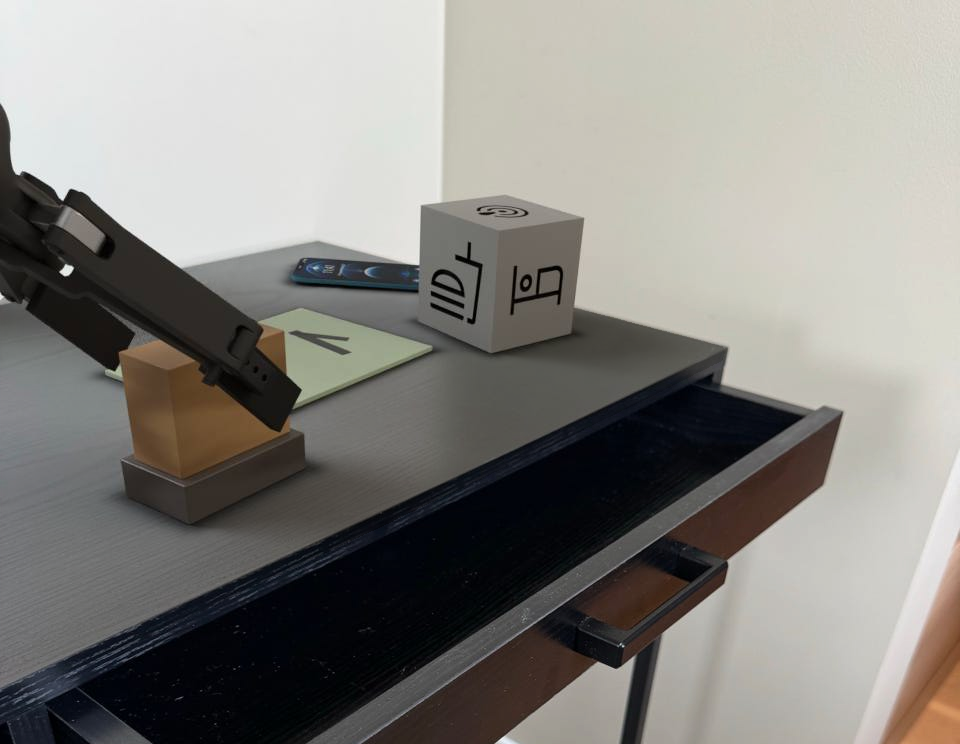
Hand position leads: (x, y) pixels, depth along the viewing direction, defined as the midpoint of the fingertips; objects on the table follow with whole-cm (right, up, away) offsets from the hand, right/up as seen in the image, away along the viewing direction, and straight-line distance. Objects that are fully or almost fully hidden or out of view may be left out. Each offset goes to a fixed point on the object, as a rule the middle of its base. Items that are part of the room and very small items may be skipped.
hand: (200, 379), depth 57 cm
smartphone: (+5, +22, +43) cm, 49 cm away
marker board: (0, +7, +22) cm, 23 cm away
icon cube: (+18, +13, +33) cm, 40 cm away
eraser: (0, -5, +5) cm, 7 cm away
